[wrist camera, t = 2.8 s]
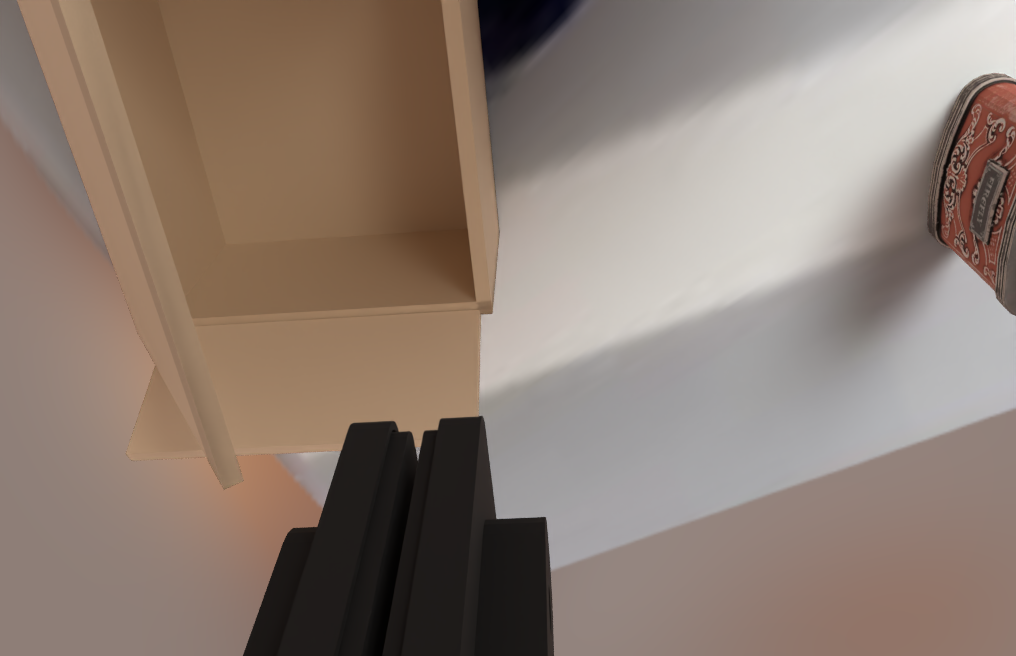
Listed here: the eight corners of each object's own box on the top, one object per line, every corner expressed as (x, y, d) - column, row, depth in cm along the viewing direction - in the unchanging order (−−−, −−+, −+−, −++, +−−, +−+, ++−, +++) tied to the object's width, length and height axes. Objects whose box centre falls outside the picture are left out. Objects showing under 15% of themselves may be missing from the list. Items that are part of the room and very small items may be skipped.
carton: (450, -276, 30) (397, -351, 18) (503, 274, 41) (491, 446, 30) (82, -237, 31) (-196, -285, 19) (232, 290, 42) (116, 464, 31)
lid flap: (31, -184, 16) (-4, -182, 16) (243, 480, 25) (223, 489, 25) (-16, -154, 25) (-39, -152, 25) (153, 328, 34) (137, 333, 34)
